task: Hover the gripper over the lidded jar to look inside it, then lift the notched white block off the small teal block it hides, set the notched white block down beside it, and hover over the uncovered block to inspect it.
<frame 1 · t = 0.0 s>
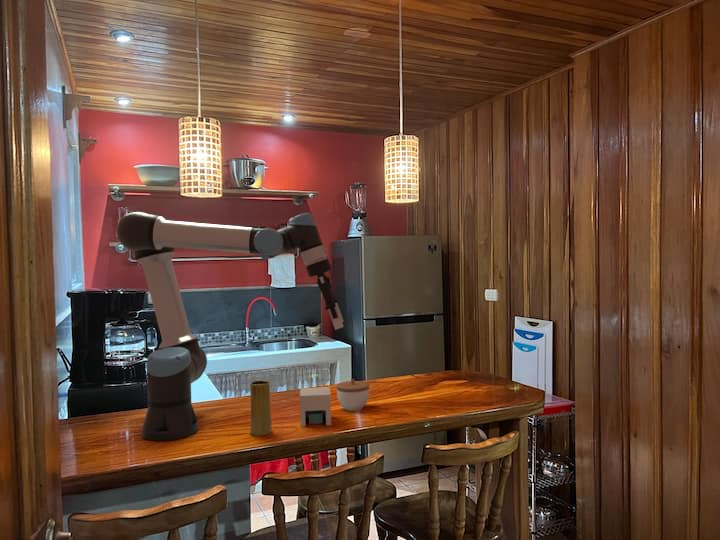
hand: (339, 325, 162), 28 cm above the breakfast bar, tool tilted 20°, fingers open, 13 cm apart
notched white block: (315, 421, 155), on the breakfast bar
vase: (261, 433, 146), on the breakfast bar
teal block: (315, 416, 155), in the notched white block
lidded jar: (353, 408, 168), on the breakfast bar
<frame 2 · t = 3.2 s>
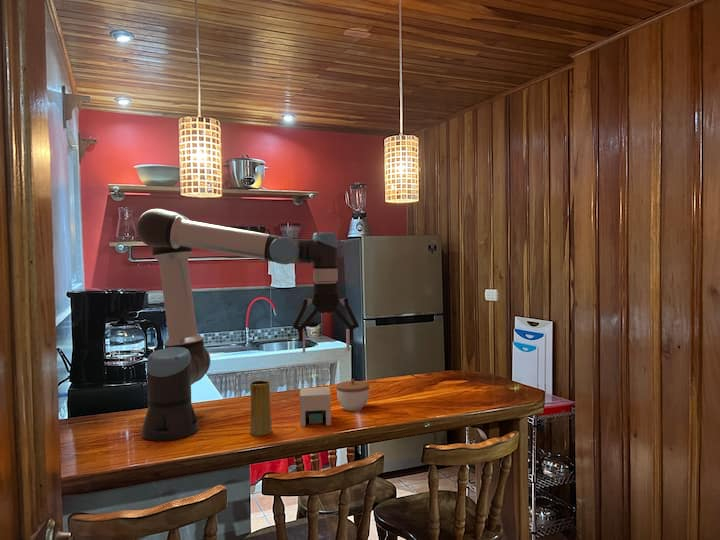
hand: (326, 351, 159), 20 cm above the breakfast bar, tool pointing down, fingers open, 13 cm apart
nothing on the breakfast bar moved.
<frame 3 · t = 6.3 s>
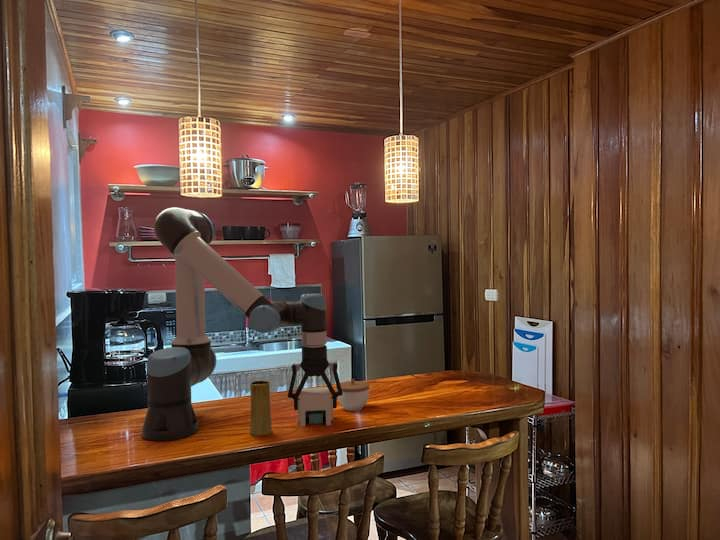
hand: (315, 419, 155), 0 cm above the breakfast bar, tool pointing down, fingers closed on notched white block, 9 cm apart
notched white block: (315, 421, 155), on the breakfast bar, touching gripper
everything else where it was.
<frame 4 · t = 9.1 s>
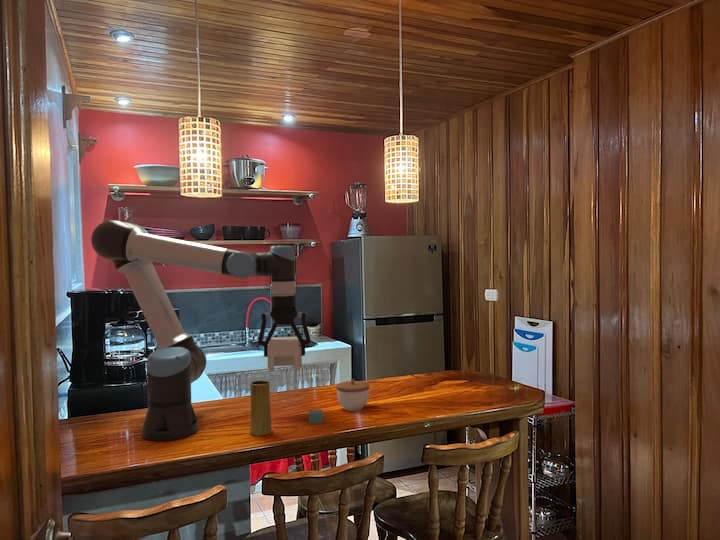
hand: (284, 366, 162), 15 cm above the breakfast bar, tool pointing down, fingers closed on notched white block, 9 cm apart
notched white block: (284, 367, 162), point 15 cm above the breakfast bar, touching gripper
everything else where it was.
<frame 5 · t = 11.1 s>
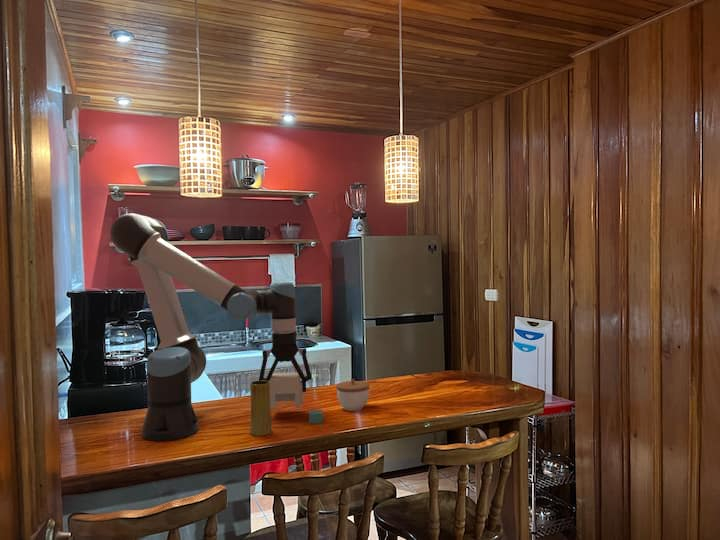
hand: (286, 403, 162), 4 cm above the breakfast bar, tool pointing down, fingers closed on notched white block, 9 cm apart
notched white block: (286, 404, 162), point 3 cm above the breakfast bar, touching gripper
everything else where it was.
when the fingers open (2 cm above the breakfast bar, at t = 12.4 s): notched white block drops 1 cm, on the breakfast bar.
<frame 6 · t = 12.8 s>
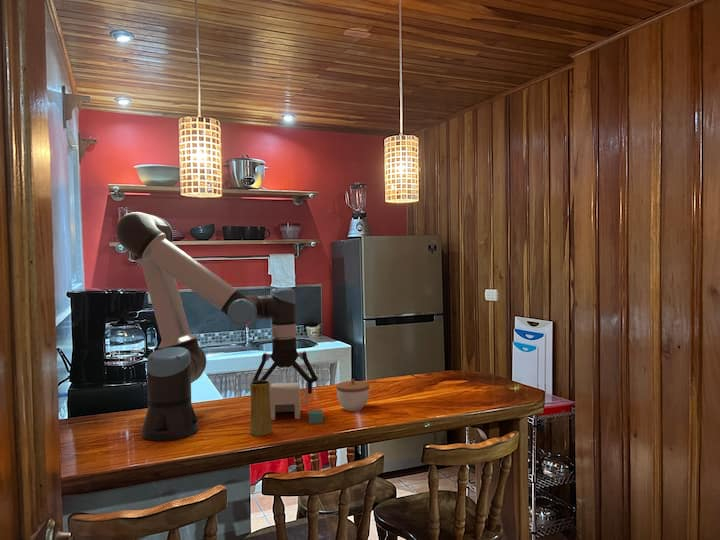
hand: (285, 404, 162), 3 cm above the breakfast bar, tool pointing down, fingers open, 13 cm apart
notched white block: (285, 414, 162), on the breakfast bar
everything else where it was.
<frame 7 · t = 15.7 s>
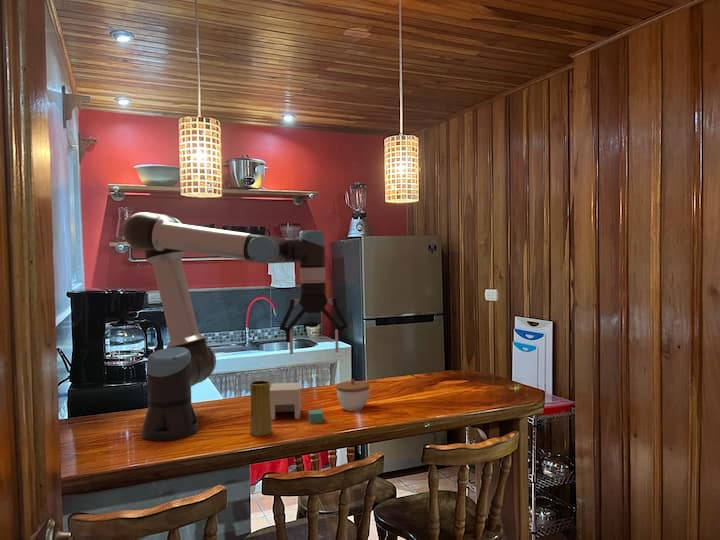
hand: (314, 352, 155), 21 cm above the breakfast bar, tool pointing down, fingers open, 13 cm apart
nothing on the breakfast bar moved.
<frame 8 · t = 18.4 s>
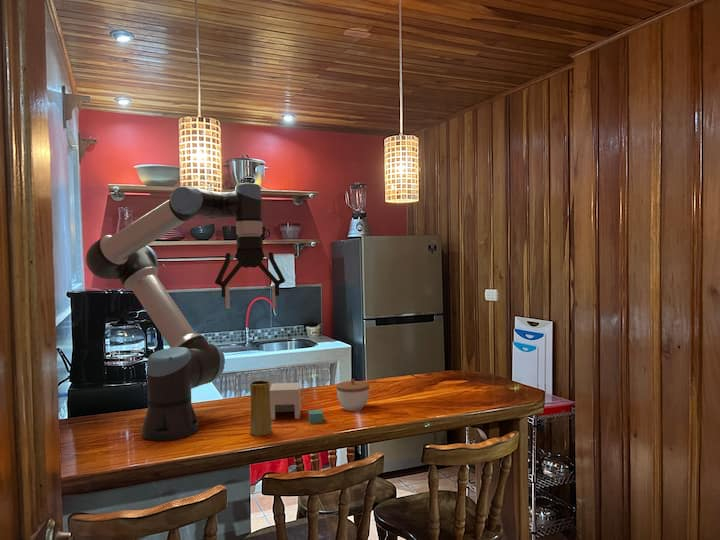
hand: (251, 307, 153), 35 cm above the breakfast bar, tool pointing down, fingers open, 13 cm apart
nothing on the breakfast bar moved.
at the end: notched white block inside the target area (0.0 cm from its centre), on the breakfast bar; notched white block tilted 0°; teal block moved 0.2 cm from its start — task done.
